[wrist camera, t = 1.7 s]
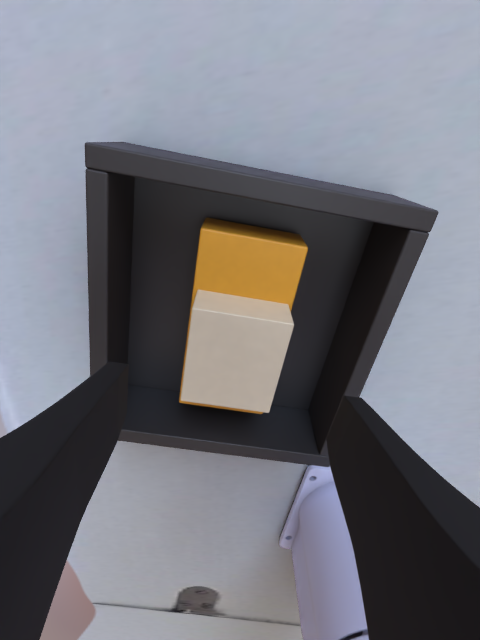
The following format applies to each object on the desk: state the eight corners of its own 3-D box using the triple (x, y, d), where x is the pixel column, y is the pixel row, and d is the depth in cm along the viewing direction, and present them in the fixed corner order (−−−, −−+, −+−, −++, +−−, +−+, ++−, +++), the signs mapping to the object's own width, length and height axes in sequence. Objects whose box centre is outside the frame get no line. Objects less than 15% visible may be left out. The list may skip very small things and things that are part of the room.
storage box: (314, 414, 22) (329, 468, 19) (116, 386, 21) (91, 437, 18) (395, 195, 16) (440, 211, 12) (121, 141, 15) (83, 141, 11)
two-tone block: (260, 382, 20) (265, 442, 16) (185, 372, 20) (171, 430, 16) (299, 231, 16) (318, 261, 12) (206, 214, 16) (194, 239, 12)
